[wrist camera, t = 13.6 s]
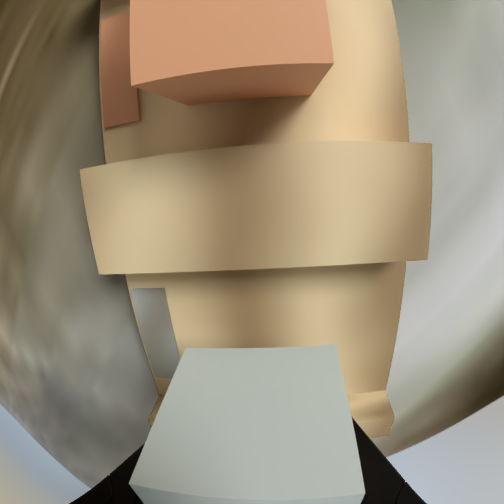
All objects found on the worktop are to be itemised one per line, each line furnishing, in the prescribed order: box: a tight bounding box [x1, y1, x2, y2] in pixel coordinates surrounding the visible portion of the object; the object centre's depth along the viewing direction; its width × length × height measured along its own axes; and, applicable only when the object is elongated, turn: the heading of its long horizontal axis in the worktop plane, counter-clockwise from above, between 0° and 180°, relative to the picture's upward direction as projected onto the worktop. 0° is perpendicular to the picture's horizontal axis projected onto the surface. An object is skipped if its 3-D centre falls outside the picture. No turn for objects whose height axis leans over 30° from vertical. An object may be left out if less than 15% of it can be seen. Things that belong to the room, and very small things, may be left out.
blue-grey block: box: [129, 344, 365, 504], centre depth 8 cm, size 4×4×5 cm
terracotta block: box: [130, 0, 334, 106], centre depth 8 cm, size 4×4×5 cm
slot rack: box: [80, 0, 432, 438], centre depth 11 cm, size 12×23×3 cm, turn 4°
